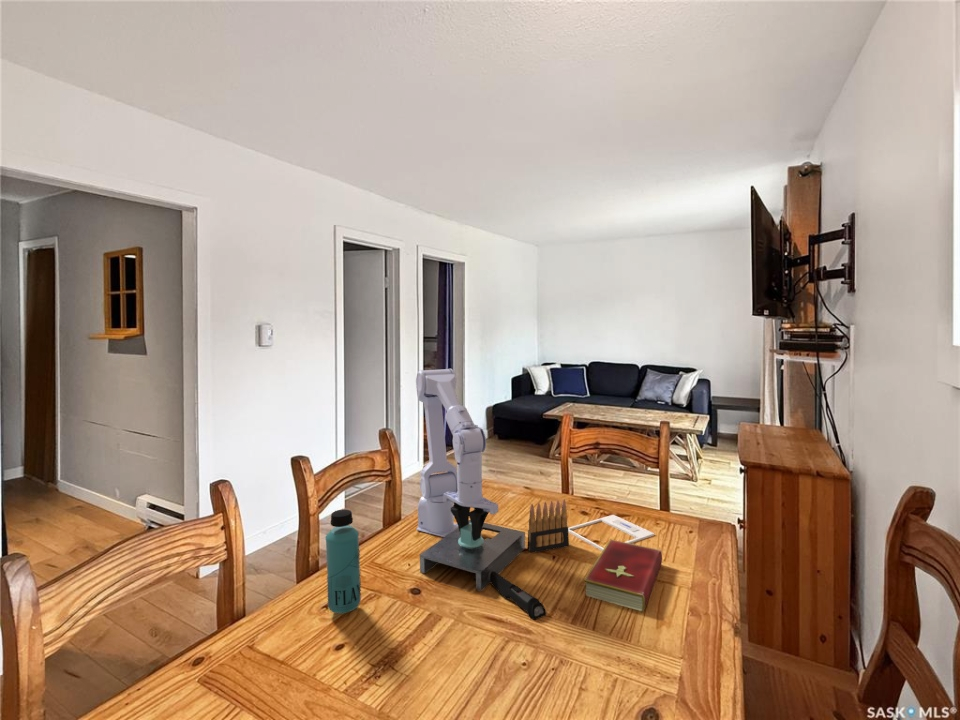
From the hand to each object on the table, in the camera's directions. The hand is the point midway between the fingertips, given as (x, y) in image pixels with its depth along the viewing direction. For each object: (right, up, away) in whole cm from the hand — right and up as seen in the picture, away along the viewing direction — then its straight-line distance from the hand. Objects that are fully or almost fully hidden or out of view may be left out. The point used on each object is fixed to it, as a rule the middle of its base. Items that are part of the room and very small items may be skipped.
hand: (470, 536), depth 110 cm
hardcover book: (+34, -7, -7) cm, 36 cm away
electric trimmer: (+9, -8, -14) cm, 19 cm away
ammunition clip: (+19, -6, +8) cm, 22 cm away
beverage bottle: (-24, -8, -18) cm, 31 cm away
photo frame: (+37, -6, +16) cm, 41 cm away
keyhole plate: (+1, -6, +2) cm, 7 cm away
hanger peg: (0, -5, 0) cm, 5 cm away
